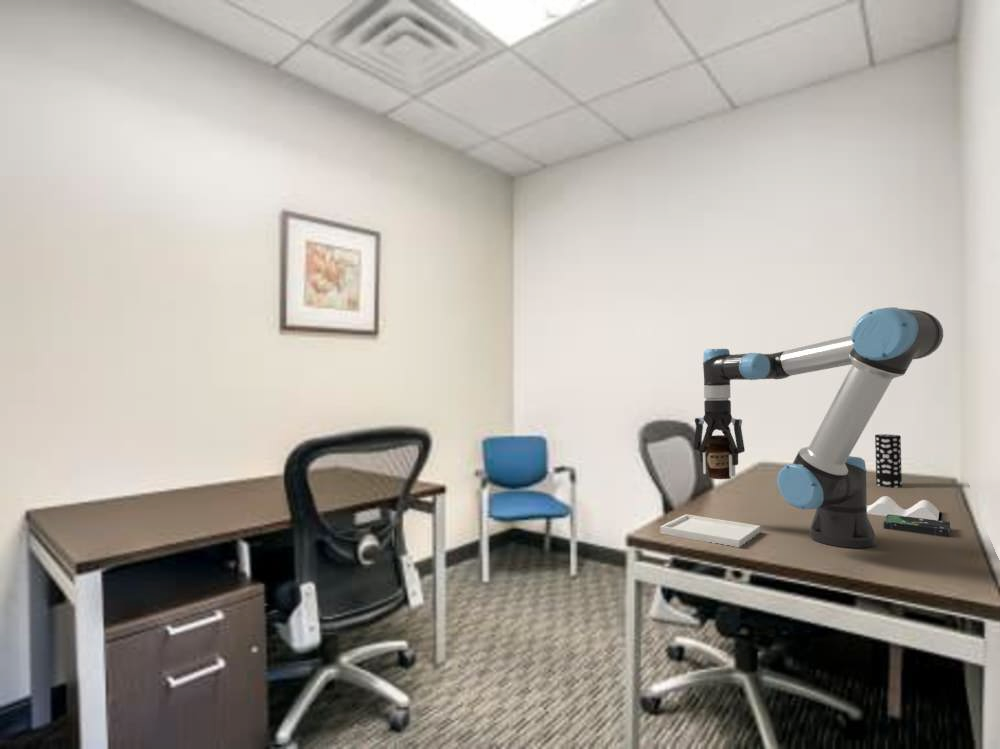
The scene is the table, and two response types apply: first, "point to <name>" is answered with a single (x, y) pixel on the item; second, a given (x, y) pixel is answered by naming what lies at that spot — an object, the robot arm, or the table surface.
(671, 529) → the tray
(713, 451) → the coffee cup
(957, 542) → the table surface
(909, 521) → the disk drive
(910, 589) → the table surface
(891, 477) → the white-spotted black cylinder
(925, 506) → the white wavy piece
